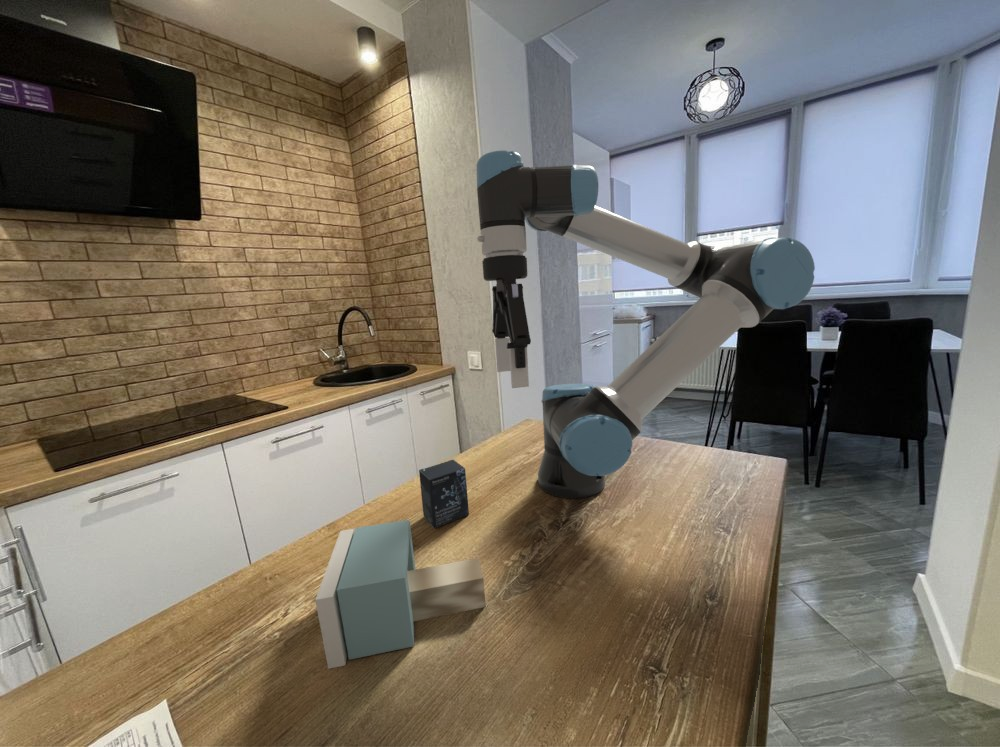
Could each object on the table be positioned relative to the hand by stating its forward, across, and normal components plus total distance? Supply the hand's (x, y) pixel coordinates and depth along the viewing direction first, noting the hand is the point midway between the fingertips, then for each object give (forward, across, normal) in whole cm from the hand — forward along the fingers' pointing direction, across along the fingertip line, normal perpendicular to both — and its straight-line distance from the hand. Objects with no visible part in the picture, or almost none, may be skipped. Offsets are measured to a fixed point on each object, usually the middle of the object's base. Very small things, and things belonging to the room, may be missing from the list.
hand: (511, 378), depth 70 cm
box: (+29, -6, -14) cm, 33 cm away
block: (+29, +17, -24) cm, 41 cm away
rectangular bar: (+29, +17, -18) cm, 38 cm away
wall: (+29, +17, -29) cm, 44 cm away
